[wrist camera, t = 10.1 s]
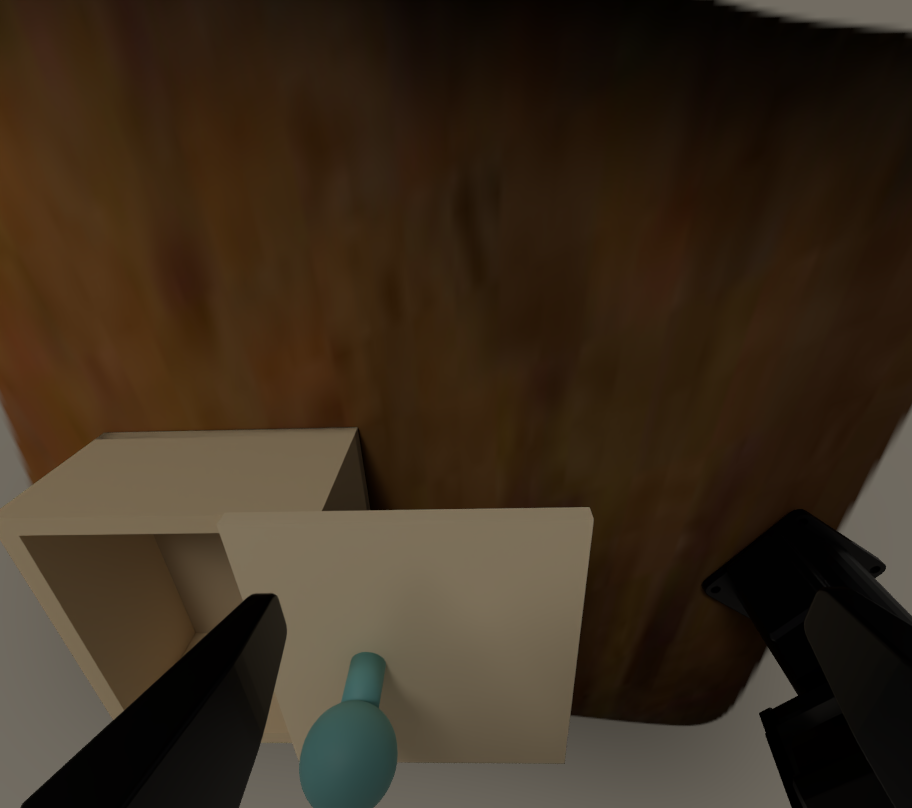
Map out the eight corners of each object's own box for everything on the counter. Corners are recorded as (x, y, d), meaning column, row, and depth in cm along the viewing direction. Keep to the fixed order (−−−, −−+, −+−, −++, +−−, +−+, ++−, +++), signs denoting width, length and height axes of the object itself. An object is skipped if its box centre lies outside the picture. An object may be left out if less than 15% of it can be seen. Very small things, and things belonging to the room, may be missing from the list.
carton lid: (589, 507, 16) (644, 663, 11) (562, 748, 22) (588, 915, 17) (224, 512, 16) (117, 664, 11) (302, 747, 23) (256, 908, 18)
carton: (357, 427, 21) (320, 513, 16) (389, 632, 28) (370, 743, 22) (104, 433, 22) (-14, 518, 17) (191, 633, 28) (127, 741, 23)
